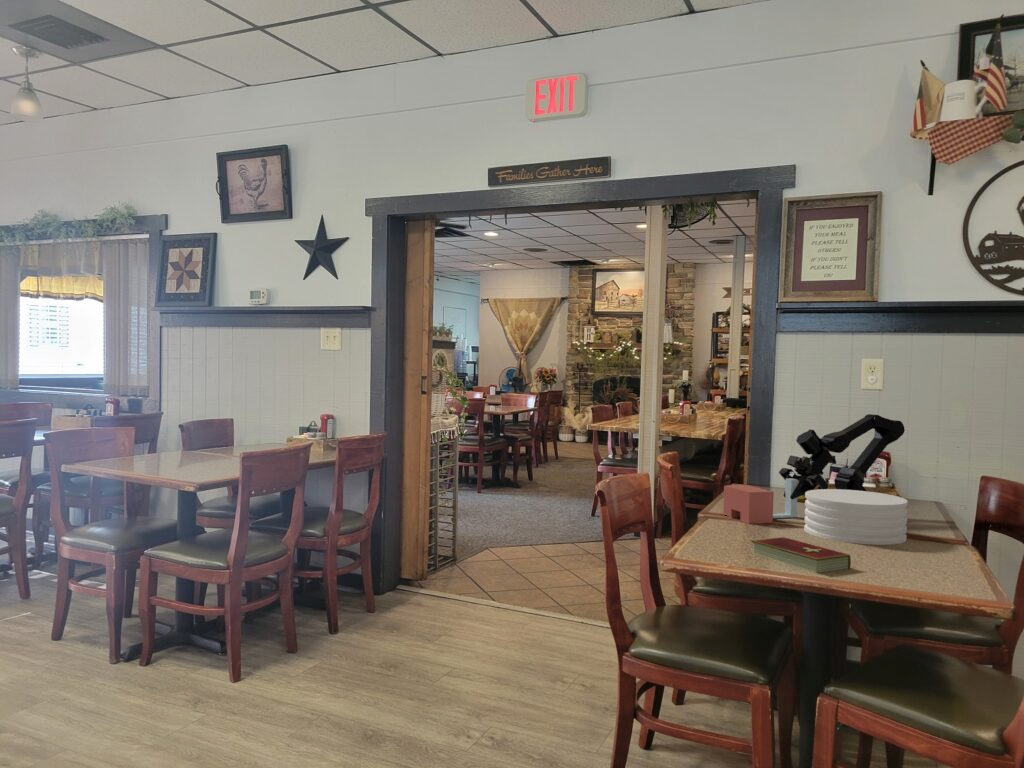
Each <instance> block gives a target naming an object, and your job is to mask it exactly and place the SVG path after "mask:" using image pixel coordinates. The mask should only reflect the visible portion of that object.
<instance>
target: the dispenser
mask: <svg viewBox="0 0 1024 768" xmlns="http://www.w3.org/2000/svg"><path fill="white" fill-rule="evenodd" d="M774 494H775V493H774V490H773V491H771V490H769V489H764V488H761V487H757V486H752V485H750V484H736V485H735V484H733V485H723V510H722V511H723V514H724V515H727V516H729V517H728V518H730V517H740V518H739V520H740V522H743V523H745V524H748V525H753V524H754V525H755V524H773V522H774V518H773V514H774ZM723 514H722V515H723ZM724 515H723V516H724ZM727 516H726V517H727Z"/></svg>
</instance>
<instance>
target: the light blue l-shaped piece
mask: <svg viewBox="0 0 1024 768" xmlns="http://www.w3.org/2000/svg"><path fill="white" fill-rule="evenodd" d="M784 483H785V490H784V492H785V497H784V513H783V512H782V513H781V512H780V513H773V519H780V518H781V519H784V518H797V517H798V515H797V514H798V501H797V498H795V499H791V498H790V496H791V494H792V493H793V491H794V490H795V489H796V487H797V486H798V480H797V479H792V478H789V479H786V481H785V482H784Z"/></svg>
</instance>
